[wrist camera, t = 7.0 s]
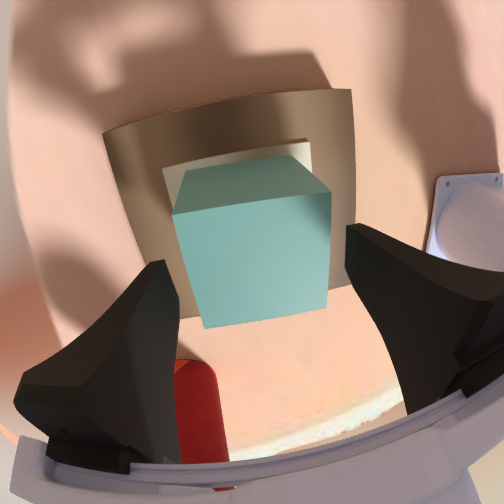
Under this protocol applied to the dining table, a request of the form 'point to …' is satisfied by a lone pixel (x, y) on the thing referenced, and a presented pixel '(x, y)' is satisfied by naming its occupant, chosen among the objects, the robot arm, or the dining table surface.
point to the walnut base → (231, 151)
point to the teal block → (254, 239)
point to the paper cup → (199, 415)
